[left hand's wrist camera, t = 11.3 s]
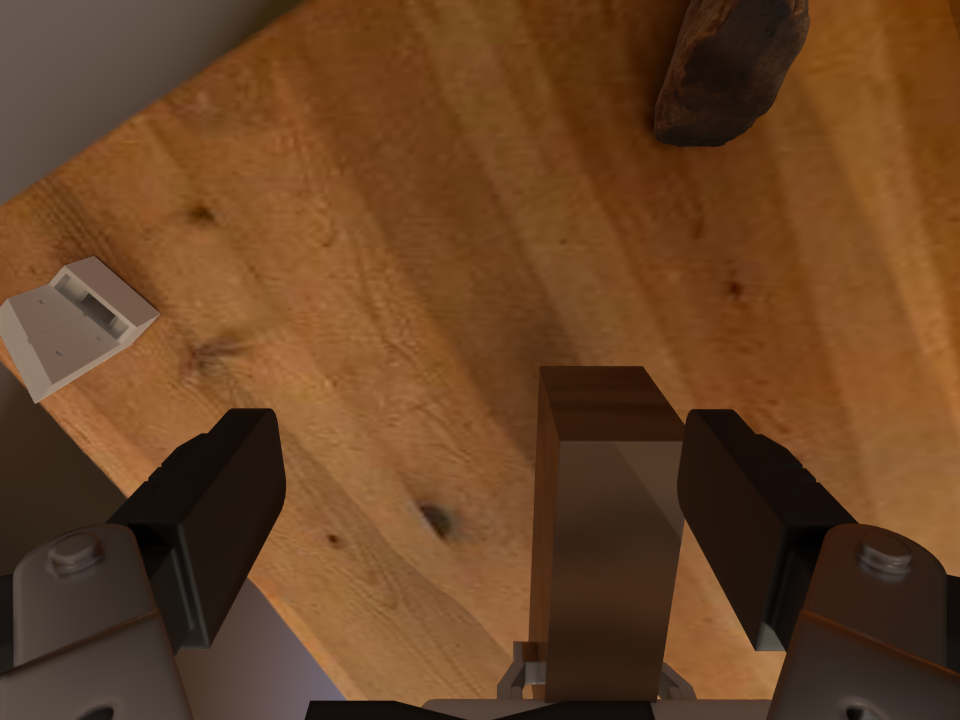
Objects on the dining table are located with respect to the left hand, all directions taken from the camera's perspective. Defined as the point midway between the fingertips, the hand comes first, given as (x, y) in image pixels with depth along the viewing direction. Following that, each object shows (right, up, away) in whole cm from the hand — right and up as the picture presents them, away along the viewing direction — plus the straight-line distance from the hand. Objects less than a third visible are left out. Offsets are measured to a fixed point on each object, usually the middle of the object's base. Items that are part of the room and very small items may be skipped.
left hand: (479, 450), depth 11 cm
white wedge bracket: (-27, +6, +31) cm, 41 cm away
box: (+6, -9, +26) cm, 28 cm away
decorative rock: (+14, +22, +25) cm, 36 cm away
